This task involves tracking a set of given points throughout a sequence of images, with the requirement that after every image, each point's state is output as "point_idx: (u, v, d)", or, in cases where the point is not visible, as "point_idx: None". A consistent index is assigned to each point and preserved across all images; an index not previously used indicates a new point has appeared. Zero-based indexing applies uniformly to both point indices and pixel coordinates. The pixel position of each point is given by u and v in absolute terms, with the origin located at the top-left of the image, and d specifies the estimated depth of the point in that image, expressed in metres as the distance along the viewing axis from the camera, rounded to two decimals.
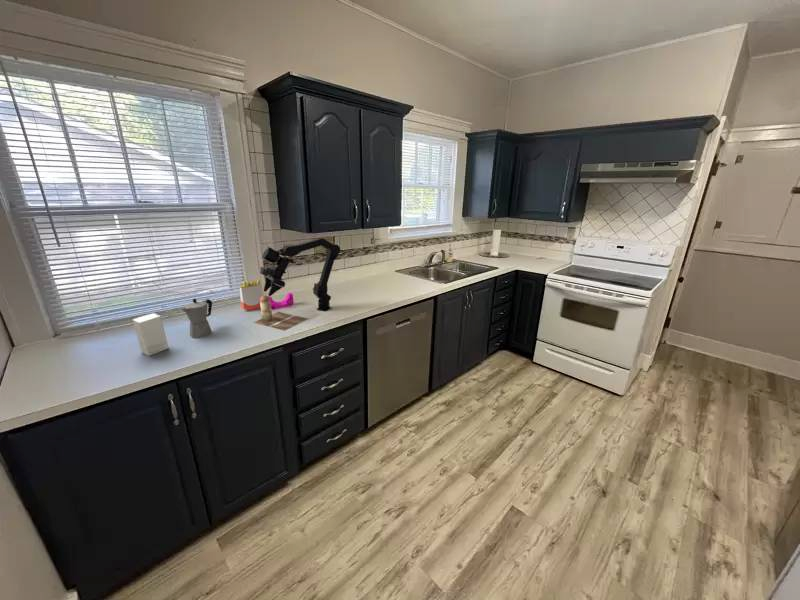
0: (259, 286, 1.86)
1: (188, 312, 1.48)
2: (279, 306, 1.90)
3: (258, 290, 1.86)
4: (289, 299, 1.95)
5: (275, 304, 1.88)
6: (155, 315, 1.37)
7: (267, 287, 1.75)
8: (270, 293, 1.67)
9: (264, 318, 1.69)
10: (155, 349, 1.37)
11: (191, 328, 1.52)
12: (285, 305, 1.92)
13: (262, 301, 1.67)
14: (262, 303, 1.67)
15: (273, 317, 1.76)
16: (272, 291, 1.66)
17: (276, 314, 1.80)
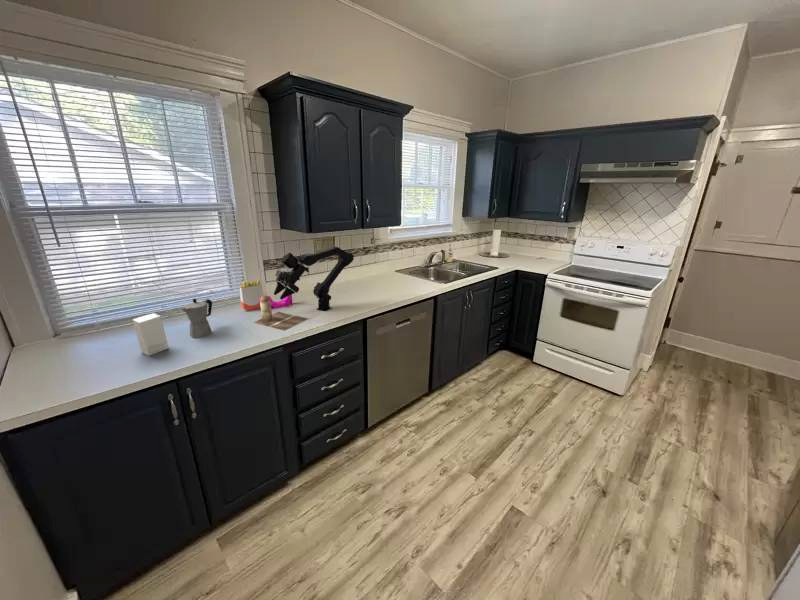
0: (259, 286, 1.86)
1: (188, 312, 1.48)
2: (278, 306, 1.90)
3: (258, 290, 1.86)
4: (288, 299, 1.96)
5: (275, 303, 1.89)
6: (155, 315, 1.37)
7: (278, 291, 1.77)
8: (282, 296, 1.69)
9: (264, 318, 1.69)
10: (155, 349, 1.37)
11: (191, 328, 1.52)
12: (284, 305, 1.93)
13: (262, 301, 1.67)
14: (262, 303, 1.67)
15: (273, 317, 1.76)
16: (284, 295, 1.69)
17: (276, 314, 1.80)
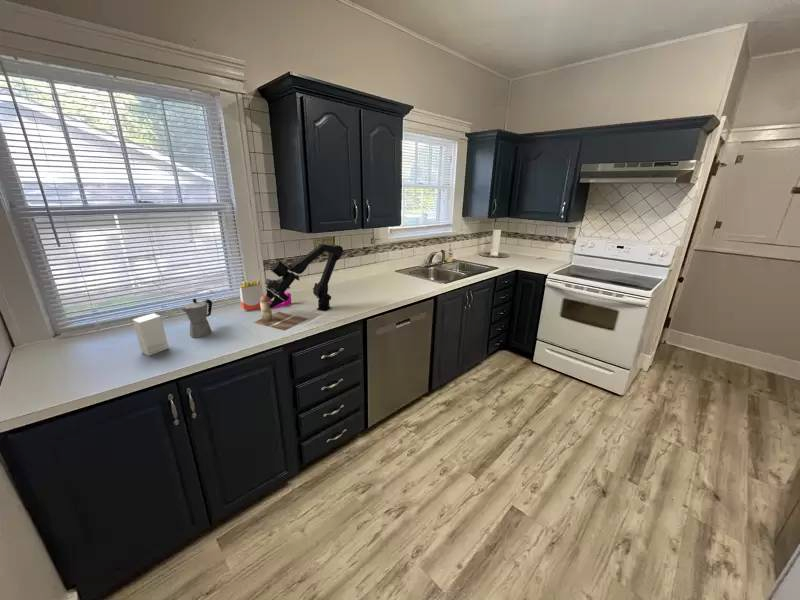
0: (259, 286, 1.86)
1: (188, 312, 1.48)
2: (277, 305, 1.91)
3: (258, 290, 1.86)
4: None
5: None
6: (155, 315, 1.37)
7: None
8: (271, 305, 1.67)
9: (264, 318, 1.69)
10: (155, 349, 1.37)
11: (191, 328, 1.52)
12: (283, 304, 1.93)
13: (262, 301, 1.67)
14: (262, 303, 1.67)
15: (273, 317, 1.76)
16: (274, 304, 1.67)
17: (276, 314, 1.80)
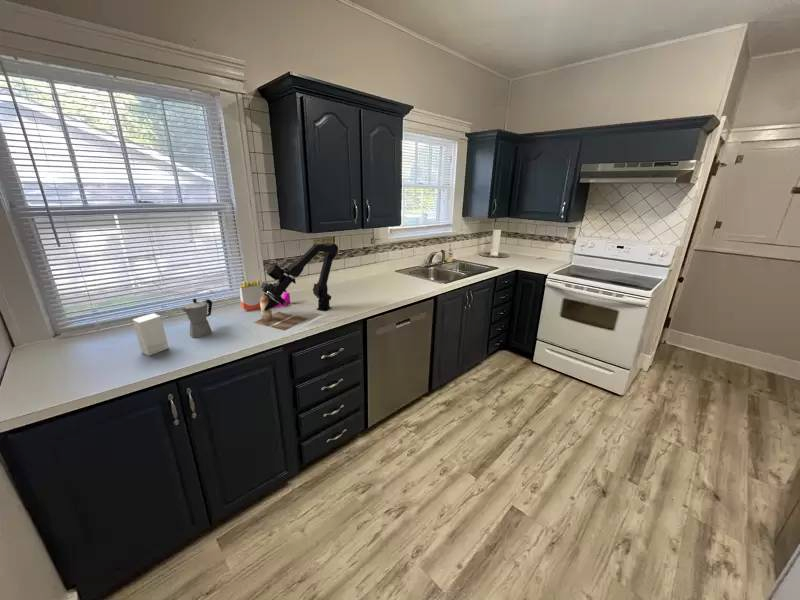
0: (259, 286, 1.86)
1: (188, 312, 1.48)
2: None
3: (258, 290, 1.86)
4: (286, 298, 1.97)
5: None
6: (155, 315, 1.37)
7: None
8: (266, 308, 1.67)
9: (264, 318, 1.69)
10: (155, 349, 1.37)
11: (191, 328, 1.52)
12: None
13: (262, 301, 1.67)
14: (262, 303, 1.67)
15: (273, 317, 1.76)
16: (269, 306, 1.67)
17: (276, 314, 1.80)
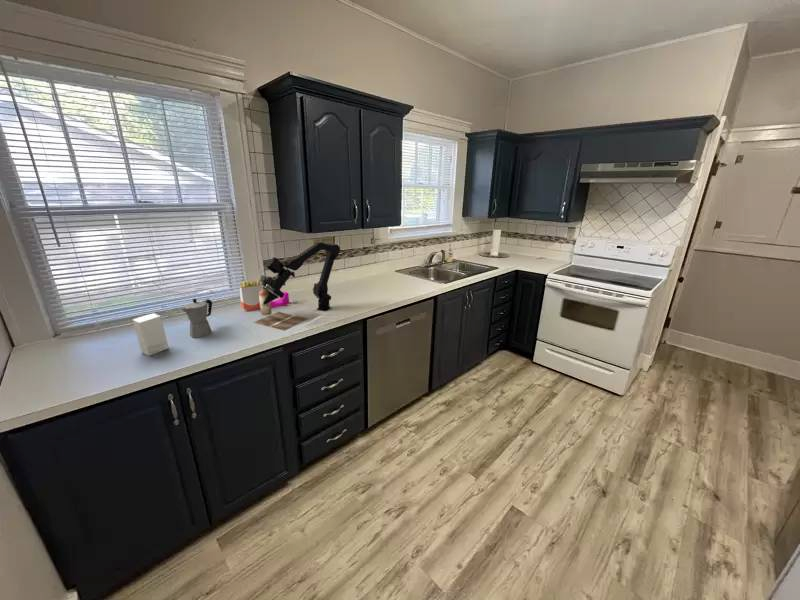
0: (259, 286, 1.86)
1: (188, 312, 1.48)
2: (275, 305, 1.92)
3: (258, 290, 1.86)
4: (285, 298, 1.97)
5: (272, 303, 1.90)
6: (155, 315, 1.37)
7: None
8: (265, 301, 1.66)
9: (263, 312, 1.68)
10: (155, 349, 1.37)
11: (191, 328, 1.52)
12: (281, 304, 1.94)
13: (261, 294, 1.65)
14: (261, 297, 1.66)
15: (273, 317, 1.76)
16: (268, 300, 1.66)
17: (276, 314, 1.80)
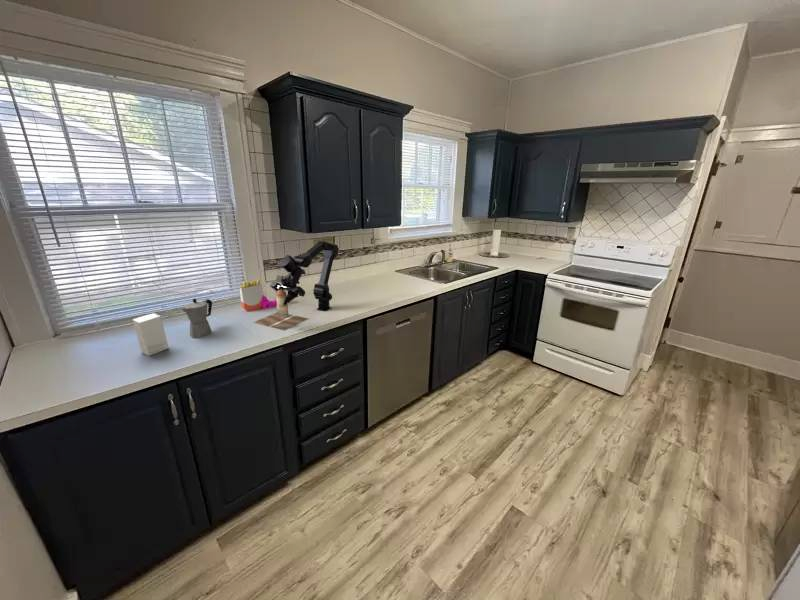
0: (259, 286, 1.86)
1: (188, 312, 1.48)
2: (273, 304, 1.92)
3: (258, 290, 1.86)
4: None
5: (270, 302, 1.90)
6: (155, 315, 1.37)
7: None
8: (286, 302, 1.59)
9: (282, 313, 1.60)
10: (155, 349, 1.37)
11: (191, 328, 1.52)
12: None
13: (280, 295, 1.57)
14: (280, 297, 1.58)
15: (273, 317, 1.76)
16: (288, 300, 1.60)
17: (276, 314, 1.80)
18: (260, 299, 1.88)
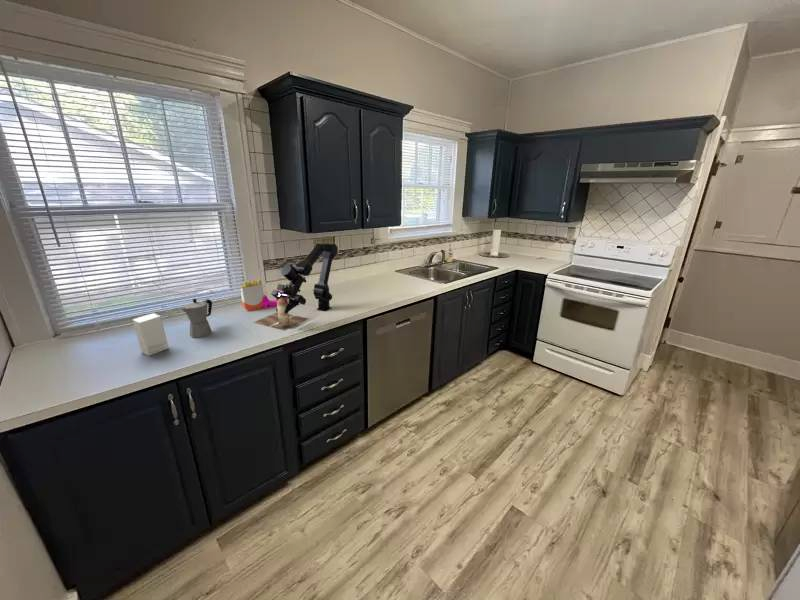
0: (260, 286, 1.86)
1: (188, 312, 1.48)
2: (274, 304, 1.92)
3: (259, 290, 1.86)
4: None
5: (271, 302, 1.90)
6: (155, 315, 1.37)
7: None
8: (287, 310, 1.60)
9: (283, 321, 1.62)
10: (155, 349, 1.37)
11: (191, 328, 1.52)
12: None
13: (282, 304, 1.59)
14: (281, 306, 1.59)
15: (273, 317, 1.76)
16: (289, 308, 1.61)
17: (276, 314, 1.80)
18: (261, 299, 1.88)
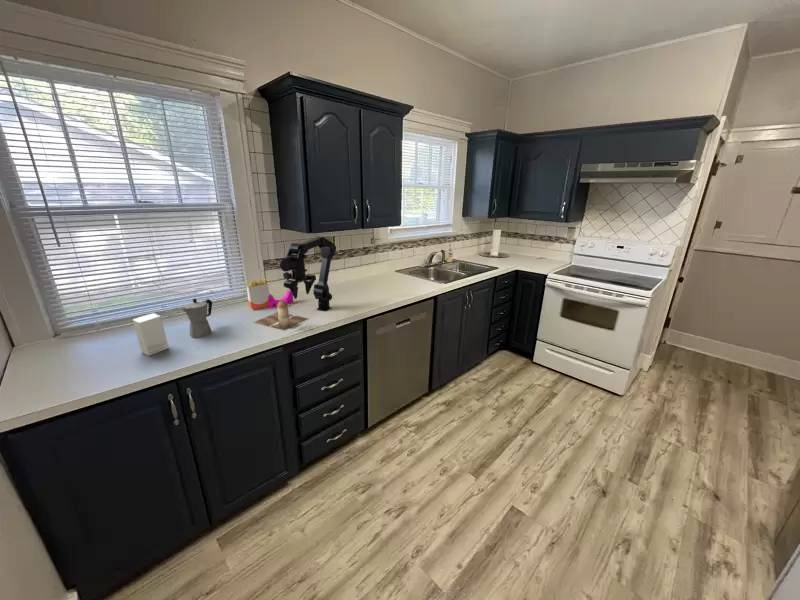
0: (266, 285, 1.88)
1: (188, 312, 1.48)
2: None
3: (265, 289, 1.88)
4: (289, 297, 1.99)
5: (277, 301, 1.92)
6: (155, 315, 1.37)
7: (308, 289, 1.76)
8: (294, 296, 1.68)
9: (284, 324, 1.62)
10: (155, 349, 1.37)
11: (191, 328, 1.52)
12: None
13: (282, 306, 1.59)
14: (282, 309, 1.60)
15: (273, 317, 1.76)
16: (293, 294, 1.67)
17: (276, 314, 1.80)
18: (267, 298, 1.90)
